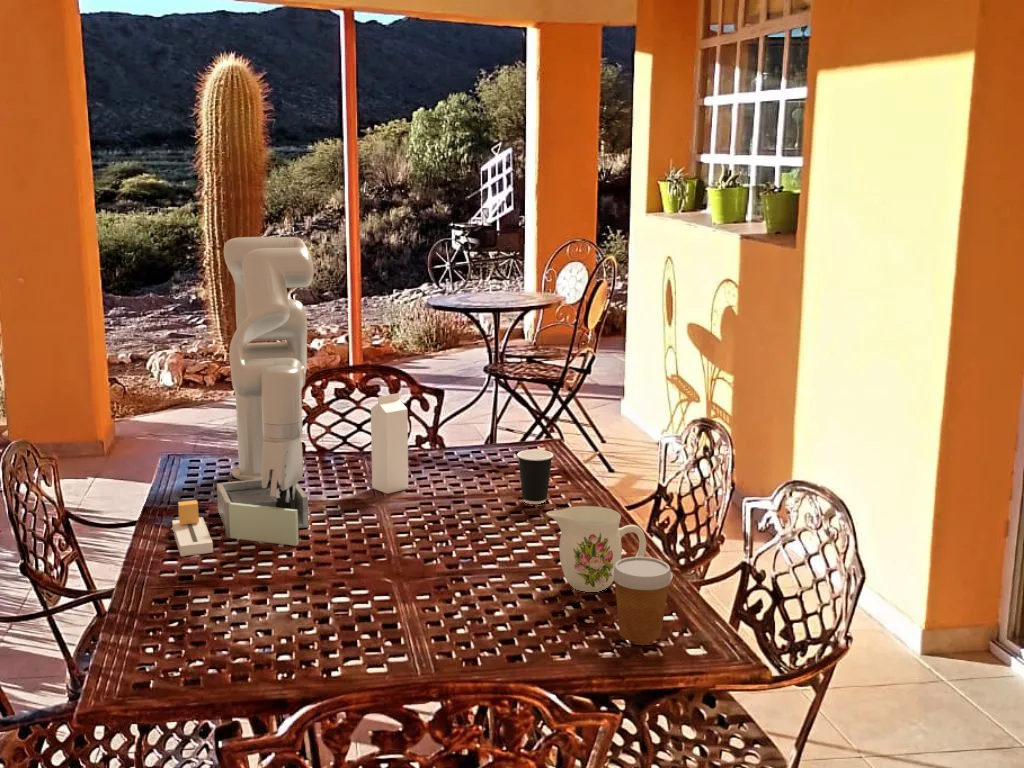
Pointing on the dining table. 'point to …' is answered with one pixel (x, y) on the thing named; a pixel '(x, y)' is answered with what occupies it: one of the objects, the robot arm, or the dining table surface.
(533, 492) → the dixie cup
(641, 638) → the disposable coffee cup
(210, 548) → the fader panel
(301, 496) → the grey open tray
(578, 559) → the pitcher
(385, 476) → the milk
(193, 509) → the fader knob
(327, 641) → the dining table surface
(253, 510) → the door
